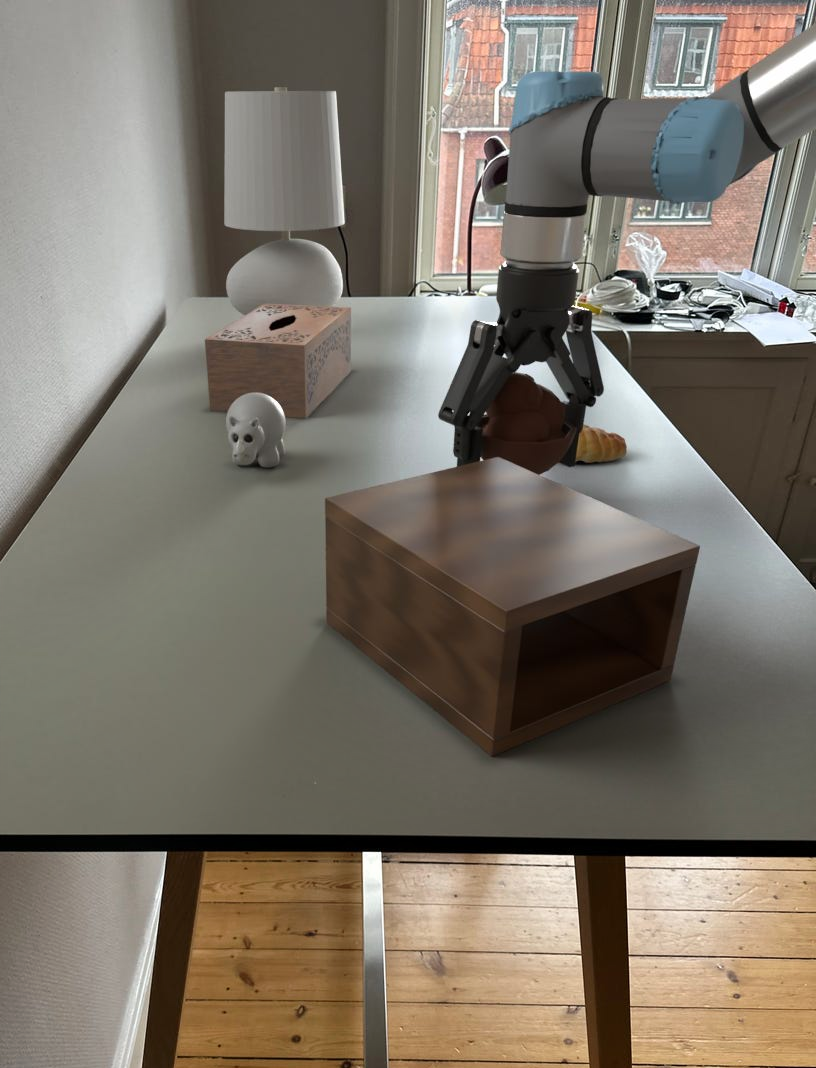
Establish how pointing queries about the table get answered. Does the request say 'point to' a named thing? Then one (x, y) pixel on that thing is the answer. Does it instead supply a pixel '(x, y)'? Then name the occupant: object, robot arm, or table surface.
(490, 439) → the ice cream bowl
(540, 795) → the table surface
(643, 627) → the shelf
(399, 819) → the table surface
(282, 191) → the table lamp
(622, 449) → the pastry
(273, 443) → the chubby cartoon animal
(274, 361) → the tissue box cover
